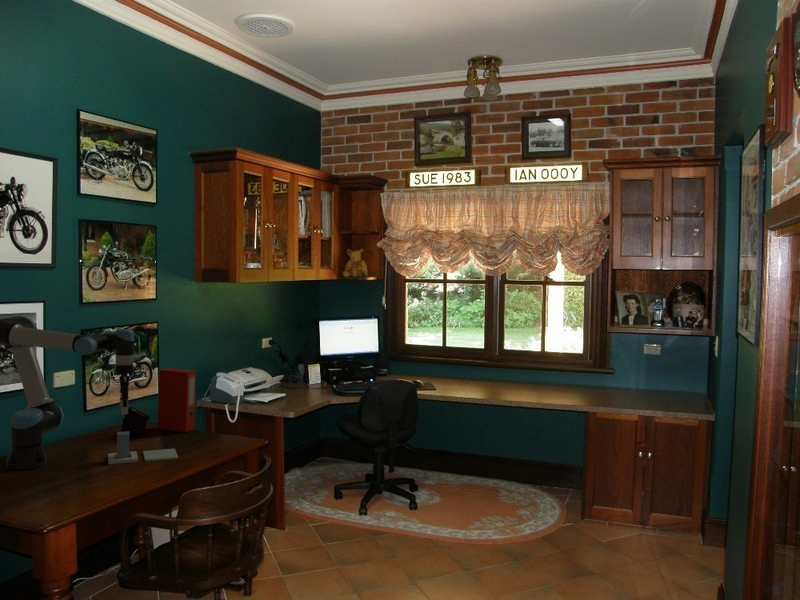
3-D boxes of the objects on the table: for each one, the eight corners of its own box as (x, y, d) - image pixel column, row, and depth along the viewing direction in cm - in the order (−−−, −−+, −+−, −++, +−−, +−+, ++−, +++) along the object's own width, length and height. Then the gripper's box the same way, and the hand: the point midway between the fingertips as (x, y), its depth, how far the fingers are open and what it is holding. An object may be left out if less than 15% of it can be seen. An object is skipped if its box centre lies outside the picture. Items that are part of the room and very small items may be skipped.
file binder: (166, 426, 351) (168, 368, 350) (194, 429, 347) (196, 370, 345) (157, 429, 343) (158, 370, 342) (185, 432, 339) (187, 372, 337)
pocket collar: (108, 464, 282) (108, 461, 282) (108, 456, 293) (108, 453, 293) (137, 461, 287) (137, 458, 287) (136, 454, 298) (136, 451, 298)
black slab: (117, 431, 330) (130, 406, 329) (140, 443, 330) (153, 418, 329) (114, 433, 326) (127, 407, 325) (137, 445, 326) (150, 419, 325)
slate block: (116, 461, 287) (117, 434, 286) (116, 458, 291) (117, 432, 291) (129, 460, 289) (129, 434, 288) (128, 457, 294) (129, 431, 293)
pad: (145, 461, 288) (145, 459, 288) (143, 453, 300) (143, 451, 300) (178, 459, 294) (178, 456, 294) (174, 450, 306) (174, 448, 306)
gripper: (135, 367, 279) (134, 416, 280) (132, 359, 301) (131, 404, 302) (116, 368, 275) (115, 417, 276) (114, 360, 298) (114, 405, 299)
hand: (123, 410), depth 289 cm, fingers open, 13 cm apart
